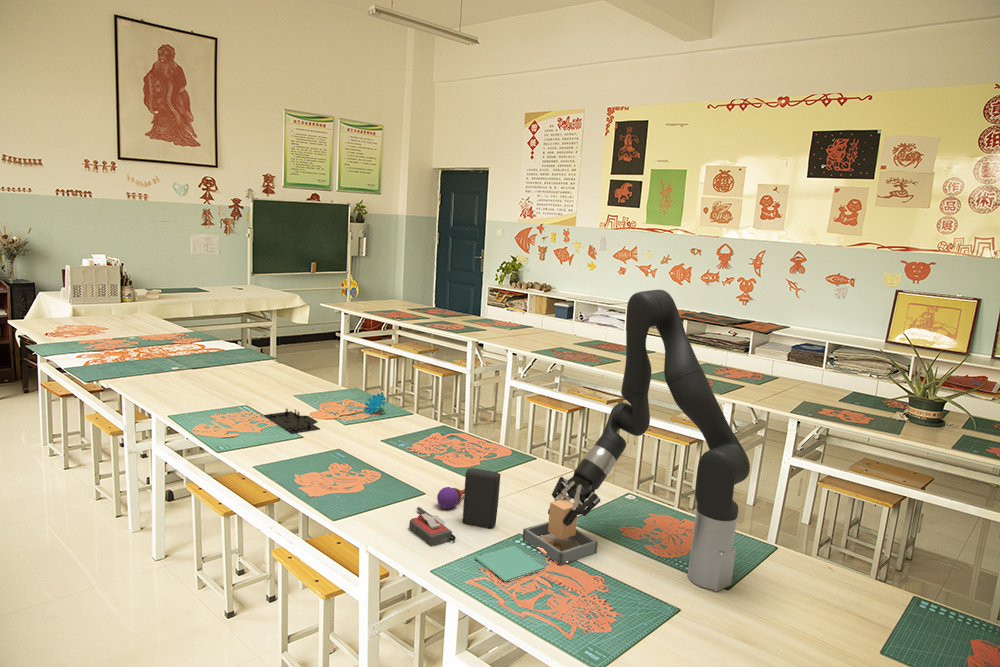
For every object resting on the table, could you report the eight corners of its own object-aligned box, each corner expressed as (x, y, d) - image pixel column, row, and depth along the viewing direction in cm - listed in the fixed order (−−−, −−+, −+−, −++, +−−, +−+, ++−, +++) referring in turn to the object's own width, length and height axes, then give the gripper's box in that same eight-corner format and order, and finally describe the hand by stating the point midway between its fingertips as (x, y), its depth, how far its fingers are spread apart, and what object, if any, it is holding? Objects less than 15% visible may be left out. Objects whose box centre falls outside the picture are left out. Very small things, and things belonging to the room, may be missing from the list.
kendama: (492, 480, 195) (452, 495, 178) (486, 498, 196) (446, 514, 180) (476, 471, 198) (436, 485, 181) (471, 489, 200) (430, 504, 183)
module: (575, 535, 165) (578, 505, 163) (560, 539, 162) (563, 509, 160) (562, 527, 169) (564, 498, 167) (547, 531, 166) (550, 502, 164)
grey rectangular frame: (596, 552, 164) (597, 541, 163) (560, 565, 156) (561, 553, 156) (558, 529, 175) (559, 518, 175) (522, 539, 168) (523, 528, 167)
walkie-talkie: (462, 541, 165) (420, 511, 180) (463, 525, 164) (421, 496, 179) (433, 550, 159) (393, 518, 174) (434, 533, 158) (394, 503, 174)
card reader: (497, 523, 176) (502, 471, 173) (494, 529, 172) (498, 476, 169) (465, 517, 178) (469, 466, 175) (461, 523, 174) (465, 471, 171)
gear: (359, 406, 268) (376, 388, 271) (366, 414, 272) (383, 397, 275) (372, 416, 260) (389, 398, 263) (380, 424, 264) (397, 406, 267)
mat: (544, 569, 154) (545, 567, 154) (505, 583, 146) (505, 580, 146) (513, 547, 163) (513, 545, 163) (475, 559, 156) (475, 557, 156)
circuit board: (263, 417, 251) (263, 409, 251) (298, 412, 261) (298, 404, 260) (291, 435, 233) (291, 427, 233) (327, 429, 243) (328, 421, 242)
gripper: (570, 450, 172) (532, 501, 167) (609, 467, 161) (569, 523, 156) (582, 466, 176) (546, 516, 171) (621, 484, 165) (583, 538, 160)
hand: (557, 519), depth 163 cm, fingers closed on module, 5 cm apart
